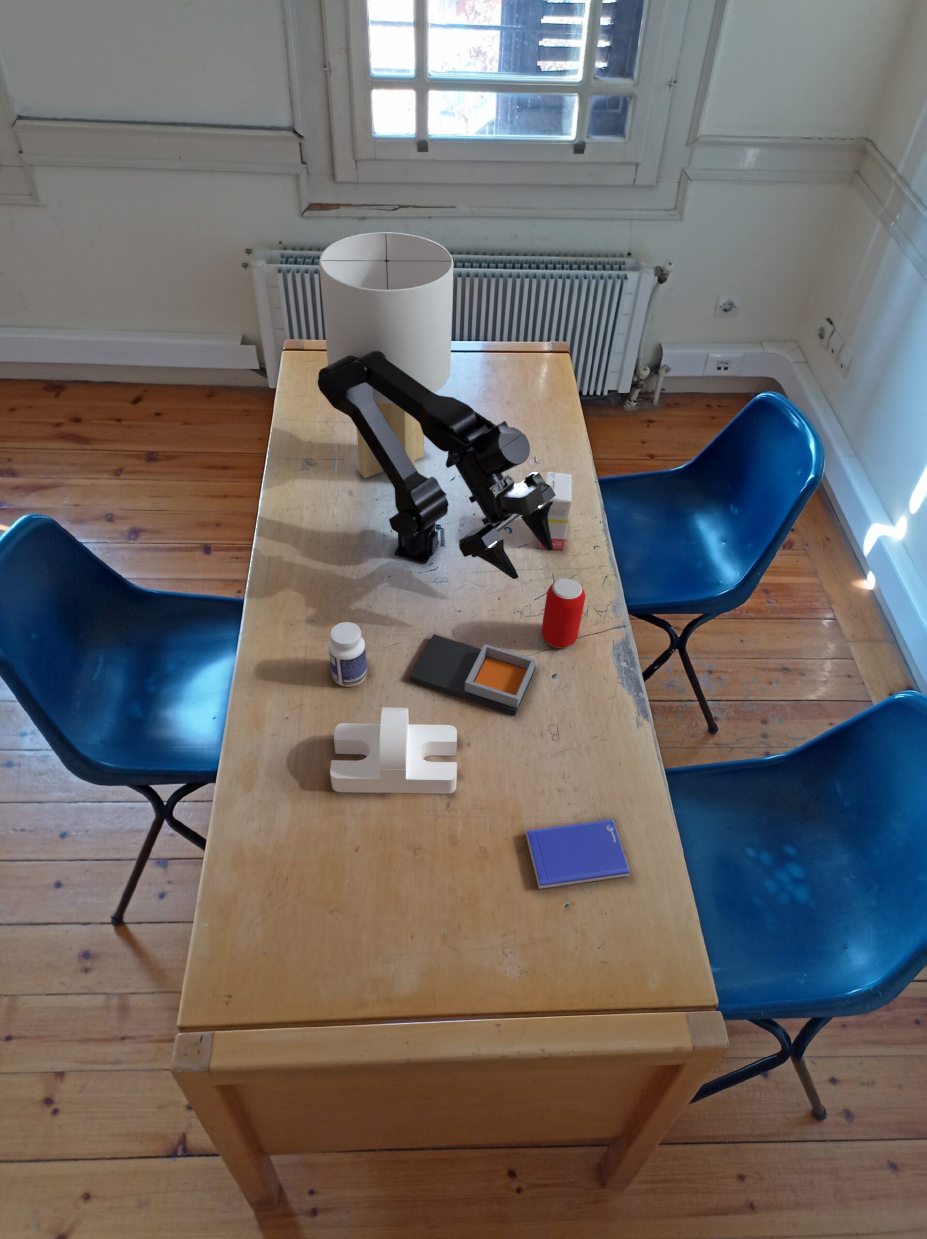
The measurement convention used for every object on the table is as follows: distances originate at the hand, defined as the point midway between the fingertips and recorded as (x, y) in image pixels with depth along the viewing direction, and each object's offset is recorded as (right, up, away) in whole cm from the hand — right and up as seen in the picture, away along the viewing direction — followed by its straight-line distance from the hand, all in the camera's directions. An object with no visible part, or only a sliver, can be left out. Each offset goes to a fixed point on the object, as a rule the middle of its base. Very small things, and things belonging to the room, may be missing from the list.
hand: (533, 564), depth 139 cm
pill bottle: (-30, -18, -1) cm, 35 cm away
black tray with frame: (-10, -18, 0) cm, 21 cm away
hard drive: (+4, -42, -21) cm, 47 cm away
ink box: (+5, +7, +25) cm, 26 cm away
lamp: (-26, +23, +38) cm, 52 cm away
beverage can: (+5, -12, +6) cm, 15 cm away
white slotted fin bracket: (-22, -31, -12) cm, 39 cm away
